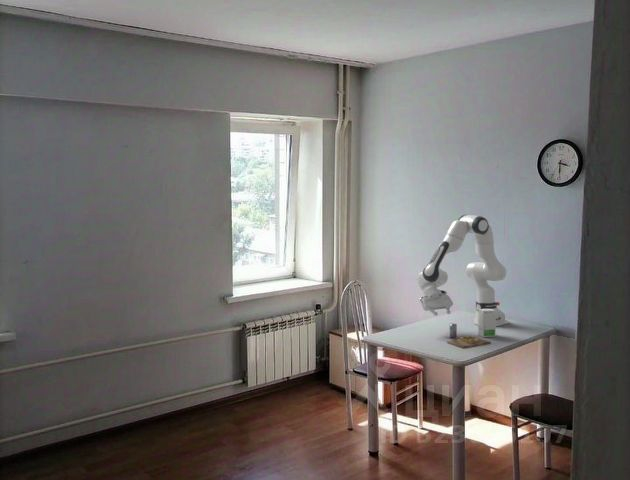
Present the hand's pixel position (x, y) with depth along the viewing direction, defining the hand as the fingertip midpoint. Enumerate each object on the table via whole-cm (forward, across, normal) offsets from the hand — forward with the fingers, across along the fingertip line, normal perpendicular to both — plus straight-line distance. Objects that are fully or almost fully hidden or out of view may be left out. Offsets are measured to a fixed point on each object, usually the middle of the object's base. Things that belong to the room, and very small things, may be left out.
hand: (442, 314), depth 351 cm
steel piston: (+15, 0, +2) cm, 15 cm away
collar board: (+25, 0, -8) cm, 26 cm away
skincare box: (+19, +20, -2) cm, 28 cm away
